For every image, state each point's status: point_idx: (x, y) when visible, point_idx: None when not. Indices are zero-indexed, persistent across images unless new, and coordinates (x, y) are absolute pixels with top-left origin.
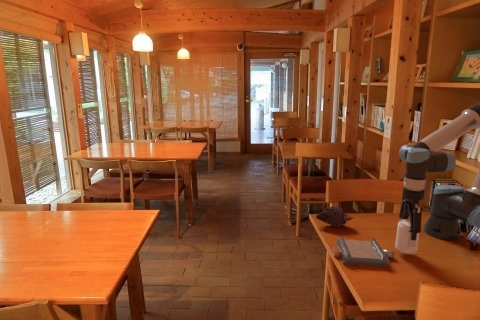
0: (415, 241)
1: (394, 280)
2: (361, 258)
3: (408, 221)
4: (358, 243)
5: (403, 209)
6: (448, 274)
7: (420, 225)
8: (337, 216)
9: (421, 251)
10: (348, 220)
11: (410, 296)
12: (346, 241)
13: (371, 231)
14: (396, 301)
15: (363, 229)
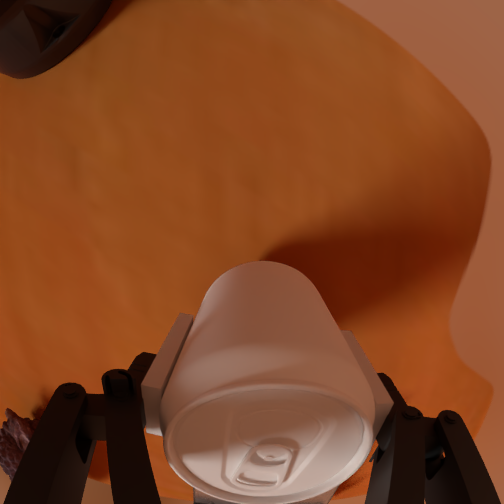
0: (363, 355)
1: (428, 410)
2: (334, 491)
3: (220, 446)
4: None
5: (71, 501)
6: (440, 190)
7: (478, 461)
8: None
9: (221, 188)
10: (27, 422)
11: (487, 386)
12: (210, 501)
13: (42, 340)
14: (484, 417)
15: (36, 361)
